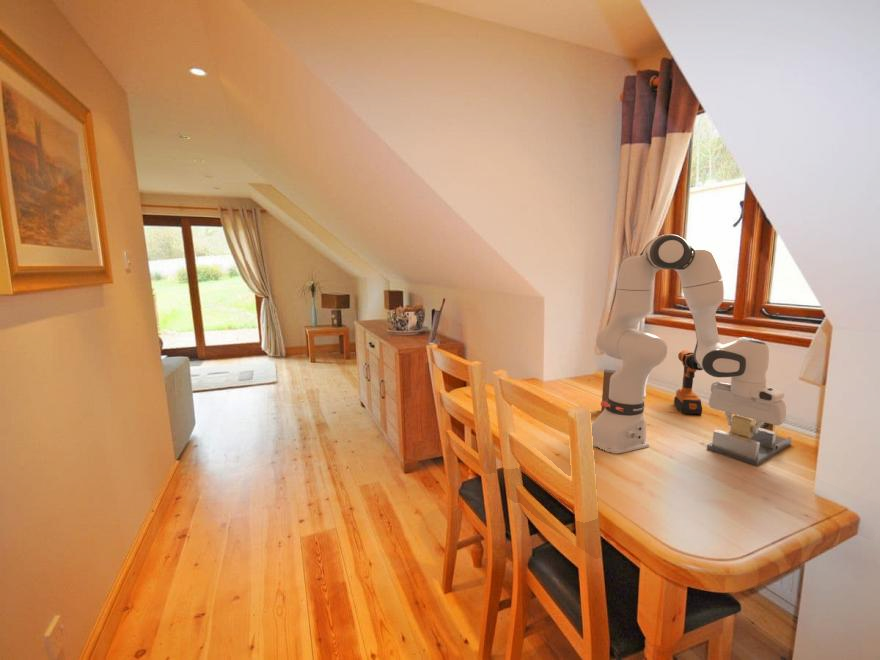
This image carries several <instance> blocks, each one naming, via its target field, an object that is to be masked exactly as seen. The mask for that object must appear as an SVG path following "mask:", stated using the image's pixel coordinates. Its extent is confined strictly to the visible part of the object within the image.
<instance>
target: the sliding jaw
mask: <svg viewBox="0 0 880 660" xmlns="http://www.w3.org/2000/svg"><path fill="white" fill-rule="evenodd" d="M757 424H758V423H756V422H755V426H756V425H757ZM729 429H730V430H729V431H730V434H731V428H729ZM776 436H777V432H776V425H773V424H769V423H766V422H764V423H763V424H762V425H761V426H760V427H759V430H758V433H754V436H753V437H751V438H750V440H753V441H757V442H760V445H761V446H764V447H768V448H771V449H772V448H773V447H774V446H775V439H776Z"/></svg>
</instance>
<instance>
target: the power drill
mask: <svg viewBox="0 0 880 660" xmlns="http://www.w3.org/2000/svg"><path fill="white" fill-rule="evenodd" d="M677 357H678V358H677V359H678V360H679V361H680V362H681V363H682V365H683V376H682V388H679V389H677V390H676V392H675V396H674V399H673V403H674V405H675V407H676V408H677V409H678V410H679V411H680V413H682V414H695V415H702V414H703V406H702V401H701V398H700V397H699V396H698V395H697V394H696V393H695V392H694V391H692V390H693V384H694V378H695V376H696V375H695V373H696V372H697V371H702V370H703V369H702V367H700V366H699V365H698V364H697V363H696V361H695V359H694V351H693V352H692V351H690V350H687V349H685V350H684V349H683V350H682V351H680V352H679V353H678V356H677ZM703 371H704V370H703Z"/></svg>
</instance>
